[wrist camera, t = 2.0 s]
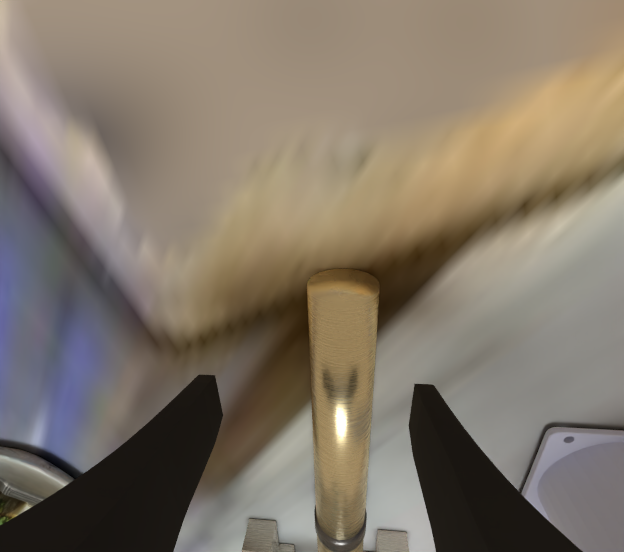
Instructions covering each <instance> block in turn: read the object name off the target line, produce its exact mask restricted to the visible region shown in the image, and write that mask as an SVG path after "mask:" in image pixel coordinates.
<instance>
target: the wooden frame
mask: <svg viewBox="0 0 624 552" xmlns="http://www.w3.org/2000/svg"><path fill="white" fill-rule="evenodd" d="M242 552H295V549H294V545H291V544H280V543H279V541H278V533H277V525H276V521H271V520H260V519H249V523H248V527H247V531H246V535H245V539H244V544H243V548H242ZM363 552H366V551H363ZM376 552H409V547H408V540H407V533H406V532H398V531H386V530H378V533H377V543H376Z"/></svg>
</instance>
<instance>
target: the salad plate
mask: <svg viewBox="0 0 624 552" xmlns="http://www.w3.org/2000/svg"><path fill="white" fill-rule="evenodd" d="M73 480H75V479H74V478H72V477H71V476H70V475H68V474H67V473H65V472H64V471H62V470H61V469H59V468H58V467H56V466H55V465H53V464H51V463H50V462H48V461H47V460H45V459H43V458H41V457H39V456H37V455H35V454H32V453H29V452H26V451H23V450H20V449H14V448H7V447H2V446H0V525H1V524H3V523H5V522H7V521H9V520H10V519H12V518H14V517H16V516H17V515H19V514H21V513H23V512H24V511H26V510H28V509H29V508H31V507H33V506H34V505H36V504H38V503H39V502H41V501H43V500H44V499H46V498H47V497H49V496H51V495H52V494H54V493H55V492H57V491H59V490H60V489H62V488H63V487H64V486H66V485H67V484H69V483H70V482H72V481H73Z"/></svg>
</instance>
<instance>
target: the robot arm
mask: <svg viewBox="0 0 624 552" xmlns="http://www.w3.org/2000/svg"><path fill="white" fill-rule="evenodd" d="M222 417H223V413H222V408H221V403H220V398H219V393H218V388H217V383H216V378H215V375H198V376H197V377H196V378H195V379H194V380H193V381H192V382H191V383H190V384H189V385H188V386H187V387H186V388H185V389H184V390H183V391H181V392H180V393H179V394H178V395H177V396H176V397H175V398H174V399H173V400H172V401H171V402H170V403H169V404H168V405H167V406H166V407H165V408H164V409H163V410H162V411H160V412H159V413H158V414H157V415H156V416H155V417H154V418H153V419H152V420H151V421H150V422H148V423H147V424H146V425H145V426H144V427H143V428H142V429H140V430H139V431H138V432H137V433H136V434H135V435H133V436H132V437H131V438H130V439H129V440H128V441H126V442H125V443H124V444H123V445H121V446H120V447H119V448H118V449H116V450H115V451H114V452H113V453H111V454H110V455H109V456H107V457H106V458H105V459H103V460H102V461H101V462H99V463H98V464H97V465H95V466H94V467H92V468H91V469H90V470H88V471H87V472H85V473H84V474H82V475H81V476H79V477H78V478H76V479H75V480H73V481H72V482H70V483H69V484H67V485H66V486H64V487H63V488H62V489H60V490H59V491H57V492H55V493H54V494H52V495H51V496H49V497H47V498H46V499H44V500H43V501H41V502H39V503H38V504H36V505H34V506H33V507H31V508H29V509H28V510H26V511H24V512H23V513H21V514H19V515H17V516H16V517H14V518H12V519H10V520H9V521H7V522H5V523H3V524H1V525H0V552H173V551H174V548H175V545H176V541H177V538H178V535H179V532H180V529H181V526H182V523H183V520H184V517H185V515H186V512H187V510H188V507H189V505H190V502H191V500H192V497H193V495H194V493H195V490H196V488H197V485H198V483H199V481H200V478H201V476H202V474H203V471H204V469H205V466H206V464H207V462H208V459H209V457H210V454H211V452H212V449H213V447H214V444H215V442H216V438H217V435H218V432H219V428H220V424H221V421H222ZM409 430H410V438H411V445H412V452H413V457H414V461H415V465H416V469H417V473H418V477H419V481H420V485H421V489H422V493H423V497H424V501H425V505H426V509H427V513H428V517H429V521H430V525H431V529H432V533H433V538H434V543H435V548H436V552H624V431H622V430H604V429H586V428H568V427H553V428H550V429H548V430H547V431H546V433H545V435H544V438H543V440H542V443H541V445H540V448H539V450H538V453H537V455H536V458H535V460H534V463H533V465H532V468H531V470H530V473H529V475H528V478H527V480H526V483H525V485H524V488H523V490H522V493H520V492H519V491H518V490H517V489H516V488H515V487H514V486H513V485H512V484H511V483H510V482H509V481H508V480H507V479H506V478H505V476H504V475H503V474H502V473H501V472H500V471H499V470H498V469H497V468H496V466H495V465H494V464H493V463H492V462H491V461H490V459H489V458H488V457H487V456H486V455H485V454H484V452H483V451H482V450H481V449H480V448H479V446H478V445H477V444H476V443H475V441H474V440H473V439H472V438H471V436H470V435H469V434H468V432H467V431H466V430H465V429H464V427H463V426H462V425H461V423H460V422H459V421H458V419H457V418H456V416H455V415H454V414H453V412H452V411H451V410H450V408H449V407H448V405H447V404H446V402H445V401H444V399H443V398H442V397H441V395H440V394H439V392H438V391H437V389H436V387H435V386H434V385H429V384H415V386H414V393H413V400H412V407H411V414H410V421H409Z"/></svg>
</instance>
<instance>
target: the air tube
mask: <svg viewBox="0 0 624 552" xmlns="http://www.w3.org/2000/svg"><path fill="white" fill-rule="evenodd" d="M379 290H380V284H379V281H378V280H377V279H376V278H375V277H374V276H372V275H370V274H368V273H366V272H363V271H359V270H353V269H332V270H326V271H323V272H320V273H317V274H315V275H314V276H312V277H311V278H310V279H309V280H308V282H307V295H308V320H309V345H310V370H311V395H312V419H313V444H314V469H315V494H316V506H315V528H316V533H317V544H318V552H363V538H364V535H365V531H366V508H365V506H366V491H367V475H368V460H369V445H370V429H371V414H372V398H373V383H374V367H375V352H376V337H377V321H378V306H379Z"/></svg>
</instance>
